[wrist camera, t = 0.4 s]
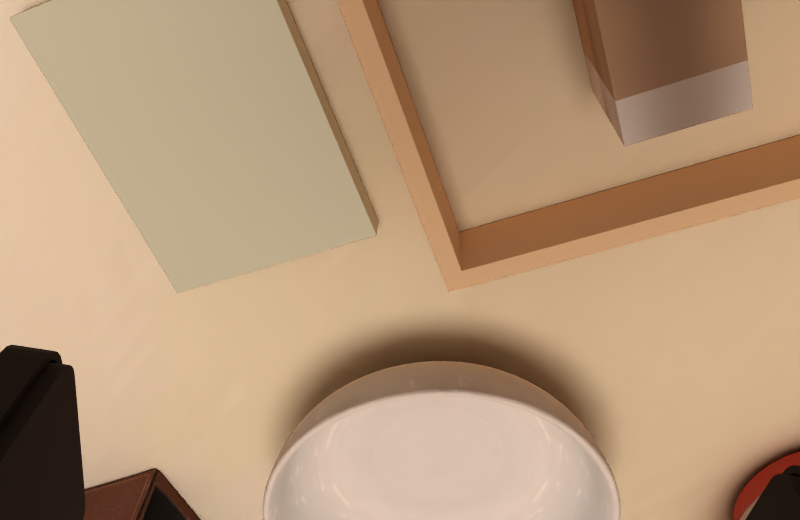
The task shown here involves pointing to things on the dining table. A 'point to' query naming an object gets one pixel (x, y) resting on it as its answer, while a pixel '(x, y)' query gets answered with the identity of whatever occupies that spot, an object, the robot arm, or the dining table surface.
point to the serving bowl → (441, 452)
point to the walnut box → (665, 62)
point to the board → (204, 128)
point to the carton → (569, 221)
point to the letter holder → (137, 500)
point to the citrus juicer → (761, 485)
